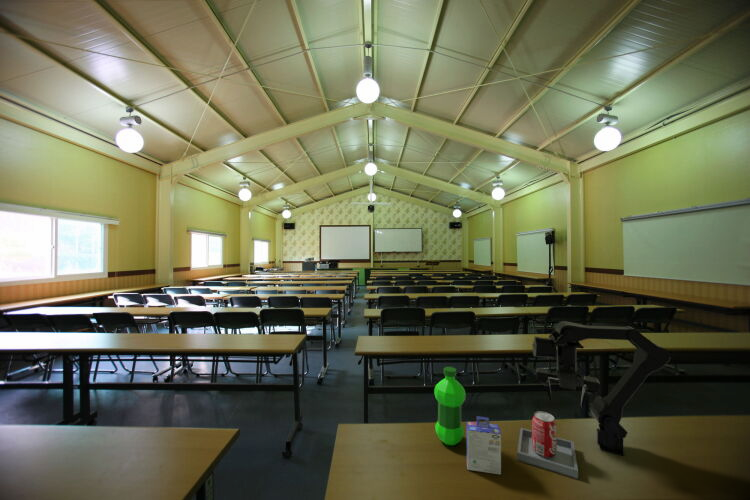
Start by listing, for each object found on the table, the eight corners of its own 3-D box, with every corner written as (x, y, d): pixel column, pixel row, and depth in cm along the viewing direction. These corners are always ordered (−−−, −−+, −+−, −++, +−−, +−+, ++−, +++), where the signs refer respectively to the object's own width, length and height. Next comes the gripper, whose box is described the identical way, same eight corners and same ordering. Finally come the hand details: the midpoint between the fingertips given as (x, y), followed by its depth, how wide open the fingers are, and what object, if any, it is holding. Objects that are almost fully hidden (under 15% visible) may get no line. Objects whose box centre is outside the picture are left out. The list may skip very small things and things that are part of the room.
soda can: (555, 448, 101) (555, 413, 100) (557, 462, 94) (558, 424, 94) (531, 443, 104) (531, 408, 103) (532, 456, 97) (532, 418, 97)
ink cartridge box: (498, 462, 95) (498, 416, 95) (502, 475, 89) (502, 427, 89) (465, 458, 97) (466, 413, 97) (467, 470, 91) (467, 423, 91)
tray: (573, 449, 101) (573, 441, 101) (578, 479, 88) (578, 470, 88) (520, 434, 109) (520, 427, 109) (517, 460, 96) (517, 452, 96)
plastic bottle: (430, 444, 103) (430, 371, 103) (440, 428, 112) (441, 361, 112) (459, 454, 98) (460, 378, 98) (468, 437, 107) (468, 367, 107)
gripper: (535, 361, 103) (535, 407, 103) (603, 373, 94) (603, 423, 94) (536, 351, 112) (535, 393, 113) (598, 361, 103) (597, 406, 104)
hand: (565, 403), depth 105 cm, fingers open, 9 cm apart
